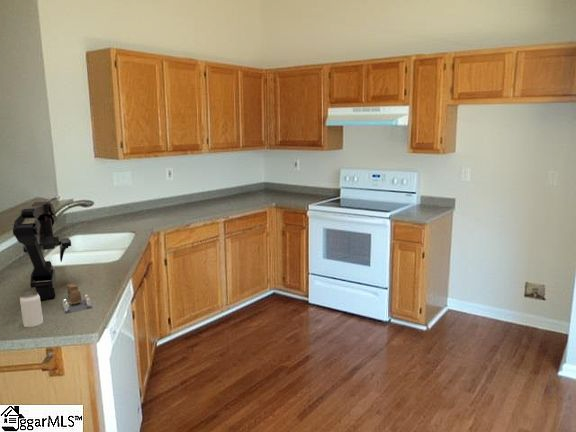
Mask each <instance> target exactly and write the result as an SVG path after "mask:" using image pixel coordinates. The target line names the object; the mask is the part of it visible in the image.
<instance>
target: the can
mask: <svg viewBox="0 0 576 432" xmlns="http://www.w3.org/2000/svg"><path fill="white" fill-rule="evenodd" d="M41 302H42V301H40V296H39V295H38V292H36V290H34V291H27V292H25V293H22V294H20V298H19V303H20V309H21V317H22V324H23V326H24V328H33V327H34V328H35V327H38V326H39V325H42V324H43V323H44V318H43V308H42V303H41Z"/></svg>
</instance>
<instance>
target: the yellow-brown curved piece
mask: <svg viewBox="0 0 576 432" xmlns="http://www.w3.org/2000/svg"><path fill="white" fill-rule="evenodd" d="M68 302H69V303H70V305H77V304H80V301H76V302H70V299H69V301H68Z"/></svg>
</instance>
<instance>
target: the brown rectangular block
mask: <svg viewBox="0 0 576 432" xmlns="http://www.w3.org/2000/svg"><path fill="white" fill-rule="evenodd" d="M66 291H67V295H68V296H67V297H68V299H69V300H70V301H69V303H70V302H76V301H80V300H82V294H81V291H79V286H78V285H76V284H74V283H71V284H66Z"/></svg>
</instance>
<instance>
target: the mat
mask: <svg viewBox="0 0 576 432" xmlns="http://www.w3.org/2000/svg"><path fill="white" fill-rule="evenodd" d="M61 307H62V309H63V303H62V304H61ZM69 309H70V312H69V313H65V310H64V309H63V311H64V314H65V315H66V314H72V313H76V312H77V313H78V312H81V311H86V310H90V309H91V310H92V309H93V307H92V306H91V308H89V309H87V307H86V305H85V301H84V299H81V300H80V304H77V305H70V302H69Z"/></svg>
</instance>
